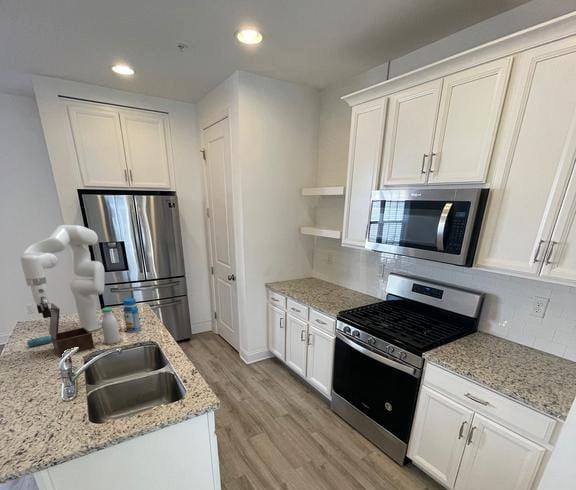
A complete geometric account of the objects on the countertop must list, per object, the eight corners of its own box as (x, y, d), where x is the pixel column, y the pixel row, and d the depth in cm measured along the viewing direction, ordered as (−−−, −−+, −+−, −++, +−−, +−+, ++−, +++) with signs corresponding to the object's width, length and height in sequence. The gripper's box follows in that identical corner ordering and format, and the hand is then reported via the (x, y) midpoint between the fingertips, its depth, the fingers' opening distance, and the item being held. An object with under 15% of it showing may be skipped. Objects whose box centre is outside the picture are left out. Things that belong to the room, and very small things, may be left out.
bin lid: (52, 303, 160) (40, 302, 156) (59, 308, 152) (46, 308, 148) (51, 333, 163) (38, 334, 159) (57, 340, 155) (44, 341, 151)
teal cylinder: (51, 340, 177) (50, 334, 175) (53, 342, 174) (52, 336, 173) (27, 346, 169) (25, 339, 167) (29, 348, 166) (27, 341, 165)
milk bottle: (122, 341, 178) (117, 308, 171) (108, 345, 172) (101, 311, 166) (117, 337, 183) (111, 305, 176) (103, 341, 177) (96, 308, 171)
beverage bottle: (142, 330, 194) (138, 300, 187) (127, 333, 190) (122, 302, 183) (139, 326, 201) (135, 296, 194) (125, 328, 196) (120, 298, 189)
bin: (86, 341, 177) (83, 327, 174) (94, 348, 169) (91, 333, 166) (54, 349, 166) (50, 334, 163) (60, 357, 158) (56, 341, 155)
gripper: (50, 283, 145) (58, 317, 151) (41, 277, 156) (49, 309, 162) (30, 285, 140) (39, 321, 146) (22, 279, 151) (31, 312, 157)
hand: (45, 315), depth 154 cm, fingers open, 9 cm apart
